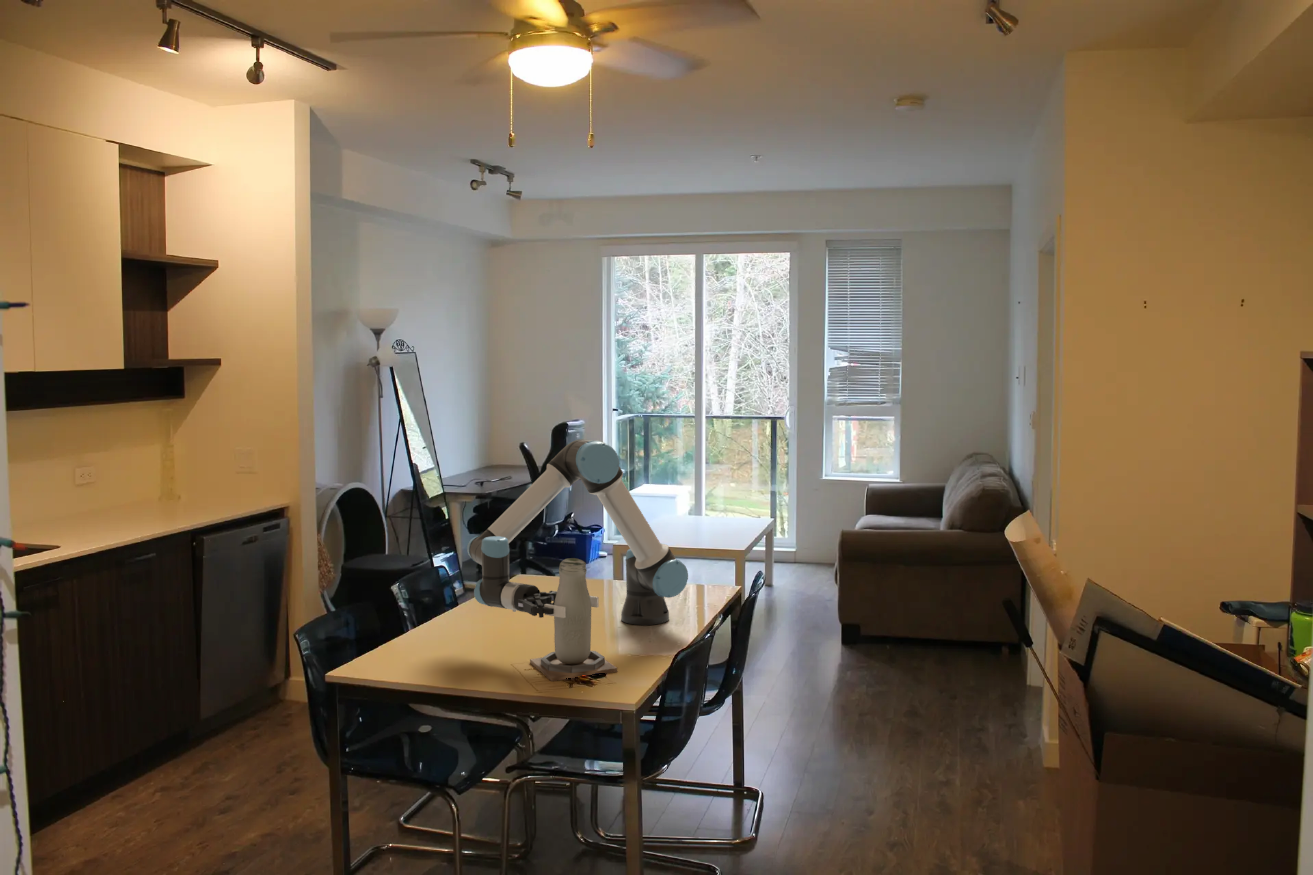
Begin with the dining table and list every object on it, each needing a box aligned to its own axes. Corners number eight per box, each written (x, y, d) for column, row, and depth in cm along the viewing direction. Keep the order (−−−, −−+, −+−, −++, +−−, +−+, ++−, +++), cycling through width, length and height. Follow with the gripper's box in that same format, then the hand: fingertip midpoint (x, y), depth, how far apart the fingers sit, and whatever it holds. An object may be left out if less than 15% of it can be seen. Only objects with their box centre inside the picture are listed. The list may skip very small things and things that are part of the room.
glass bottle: (587, 656, 266) (589, 554, 264) (593, 668, 256) (594, 562, 254) (551, 658, 264) (552, 555, 262) (555, 669, 254) (556, 562, 252)
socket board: (592, 654, 272) (592, 645, 272) (617, 671, 256) (617, 662, 255) (530, 662, 264) (529, 653, 264) (551, 681, 248) (551, 671, 248)
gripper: (552, 602, 280) (610, 611, 268) (489, 620, 259) (550, 631, 247) (551, 576, 279) (610, 584, 267) (488, 592, 259) (549, 602, 247)
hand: (581, 607), depth 257 cm, fingers open, 13 cm apart
